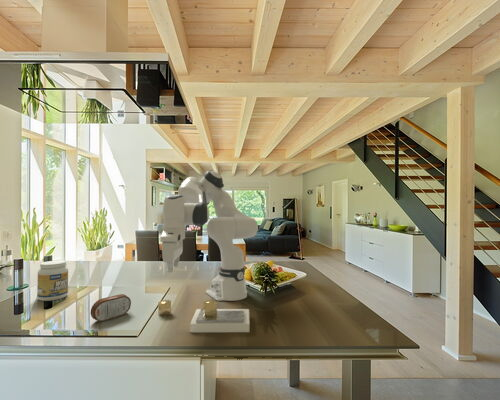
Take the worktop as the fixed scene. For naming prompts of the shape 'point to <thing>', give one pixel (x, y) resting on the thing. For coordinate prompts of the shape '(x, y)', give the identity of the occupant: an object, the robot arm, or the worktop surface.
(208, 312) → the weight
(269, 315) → the worktop surface
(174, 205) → the robot arm
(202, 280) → the worktop surface
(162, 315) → the weight
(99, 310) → the tin
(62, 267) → the supplement tub
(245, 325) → the scale
